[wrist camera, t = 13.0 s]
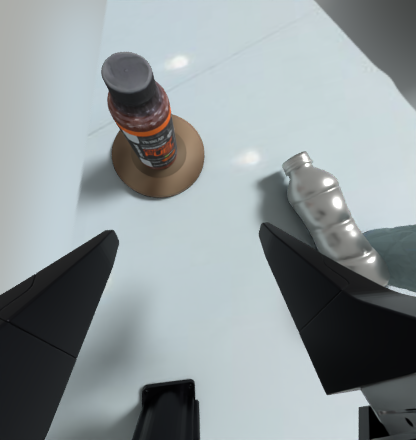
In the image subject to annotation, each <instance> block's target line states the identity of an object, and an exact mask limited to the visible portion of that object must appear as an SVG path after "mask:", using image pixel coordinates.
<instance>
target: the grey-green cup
mask: <svg viewBox="0 0 416 440" xmlns="http://www.w3.org/2000/svg"><path fill="white" fill-rule="evenodd" d="M363 235H364V236H365V238H366V239H367V241H368V242H369V243H370V245H371V247H373V248H374V249H375V250H376V251H377V252H378V253H379V255H380V256H381V257H382V258H383V260H384V261H385V262H386V264H387V267H388V270H389V273H390V279H389V282H388V284H387V285H391V286H394V287H398V288H403V289H407V290H409V291H413V292H416V225H408V226H400V227H395V228H382V229H374V230H370V231H368V232H366V233H364V234H363Z"/></svg>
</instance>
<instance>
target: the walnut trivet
mask: <svg viewBox="0 0 416 440" xmlns="http://www.w3.org/2000/svg"><path fill="white" fill-rule="evenodd" d="M172 120H173V126H174V132H175V138H176V144H177V157H176V159H175V161H174V162H173V164H172V165H170V166H169V167H167V168H165V169H151V168H149V167H147V166H146V165H144V164H143V163H142V162H141V161H140V159H139V158H138V156H137V155H136V153H135V152H134V150H133V149H132V147H131V145H130V144H129V142H128V141H127V139H126V138H125V136H124V135H123V133H122V131H121V130H120V131H119V132H118V134H117V136H116V138H115V140H114V143H113V146H112V161H113V165H114V168H115V170H116V172H117V174H118V175H119V177H120V178H121V179H122V181H123V182H124V183H125V184H127V185H128V186H129V187H130V188H131V189H133V190H134V191H136V192H138V193H140V194H142V195H145V196H149V197H156V198H163V197H170V196H174V195H177V194H179V193H181V192H183V191H185V190H186V189H188V188H189V187H190V186H191V185H193V183H194V182H195V181H196V180H197V178H198V177H199V175H200V173H201V171H202V168H203V163H204V146H203V143H202V140H201V138H200V136H199V134H198V132H197V131H196V130H195V128H194V127H193V126H192V125H191V124H189V123H188V122H187V121H185V120H184V119H182V118H180V117H178V116H175V115H172Z"/></svg>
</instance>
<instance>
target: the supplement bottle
mask: <svg viewBox="0 0 416 440" xmlns="http://www.w3.org/2000/svg"><path fill="white" fill-rule="evenodd" d="M101 73H102V78H103V80H104V82H105V84H106V86H107V88H108V90H109V93H108V98H107V102H108V108H109V111H110V113H111V115H112V117H113V119H114V120H115V122H116V124H117V125H118V127H119V128H120V130H121V131H122V133H123V135H124V136H125V138H126V139H127V141H128V142H129V144H130V145H131V147H132V149H133V150H134V152H135V153H136V155H137V156H138V158H139V159H140V161H141V162H142V163H143V164H144V165H146V166H147V167H149V168H151V169H165V168H167V167H169V166H170V165H172V164H173V162H174V161H175V159H176V157H177V144H176V138H175V132H174V126H173V120H172V114H171V109H170V104H169V100H168V97H167V94H166V92H165V91H164V89H163V88H162V87H161V86H160V85H159V84H158V83H157V82H156V81H155V80H154V76H153V72H152V69H151V66H150V65H149V63H148V62H147V61H146V60H145V59H144V58H143V57H142V56H140V55H137V54H135V53H132V52H119V53H115V54H112V55H111V56H110V57H108V58H107V59H106V60H105V62H104V63H103V66H102V70H101Z"/></svg>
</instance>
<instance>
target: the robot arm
mask: <svg viewBox="0 0 416 440" xmlns="http://www.w3.org/2000/svg"><path fill="white" fill-rule="evenodd" d="M259 238H260V241H261V244H262V247H263V250H264V254H265V257H266V259H267V261H268V264H269V266H270V268H271V270H272V273H273V275H274V277H275V279H276V282H277V284H278V286H279V288H280V291H281V293H282V295H283V298H284V300H285V302H286V304H287V307H288V309H289V311H290V313H291V316H292V318H293V320H294V322H295V325H296V327H297V329H298V331H299V334H300V336H301V339H302V341H303V343H304V345H305V348H306V350H307V352H308V354H309V357H310V359H311V361H312V363H313V366H314V368H315V370H316V373H317V375H318V377H319V379H320V382H321V384H322V386H323V388H324V390H325V392H326V394H327V395H332V394H338V393H344V392H351V391H357V390H361V391H362V393H363V395H364V396H365V398H366V399H367V401H368V403H369V404H370V405H369V406H363V407H359V440H416V297H414V296H409V295H405V294H401V293H398V292H395V291H393V290H390V289H388V288H386V287H384V286H382V285H380V284H378V283H376V282H374V281H372V280H370V279H368V278H366V277H364V276H362V275H360V274H358V273H356V272H354V271H352V270H351V269H349V268H347V267H345V266H343V265H341V264H339V263H338V262H336V261H334V260H332V259H330V258H329V257H327V256H325V255H324V254H322V253H320V252H318V251H317V250H315V249H313V248H312V247H310V246H308V245H306V244H305V243H303V242H301V241H300V240H298V239H296V238H294V237H293V236H291V235H289V234H288V233H286V232H284V231H282V230H281V229H279V228H277V227H276V226H274V225H272V224H270V223H268V222H265V223H262V224H261V227H260V230H259ZM118 246H119V240H118V237H117V235H116V233H115V231H114V230H106V231H104V232H102V233H101V234H99V235H97V236H96V237H94V238H92V239H91V240H89V241H88V242H86V243H84V244H83V245H81V246H80V247H78V248H76V249H75V250H73V251H72V252H70V253H68V254H67V255H65V256H63V257H62V258H60V259H59V260H57V261H55V262H54V263H52V264H51V265H49V266H47V267H46V268H44V269H43V270H41V271H39V272H38V273H37V274H35V275H33V276H31V277H30V278H28V279H26V280H25V281H23V282H21V283H20V284H18V285H16V286H15V287H13V288H12V289H10V290H8V291H6V292H5V293H3V294H1V295H0V440H44V439H45V437H46V435H47V433H48V431H49V428H50V426H51V423H52V421H53V418H54V415H55V413H56V410H57V408H58V405H59V403H60V400H61V398H62V395H63V393H64V390H65V388H66V385H67V383H68V380H69V377H70V375H71V372H72V370H73V367H74V365H75V362H76V360H77V359H76V358H77V357H78V354H79V352H80V349H81V347H82V344H83V342H84V339H85V336H86V334H87V331H88V329H89V326H90V324H91V321H92V319H93V316H94V314H95V311H96V309H97V306H98V303H99V301H100V298H101V296H102V293H103V291H104V288H105V286H106V283H107V281H108V278H109V275H110V273H111V270H112V268H113V264H114V261H115V257H116V253H117V249H118ZM190 384H192V386H190ZM146 390H148V392H146ZM132 440H200V416H199V401H198V400H195V382H194V380H192V379H190V380H182V381H174V382H166V383H159V384H151V385H146V386H145V387H144V389H143V391H142V410H141V413H140V416H139V419H138V422H137V426H136V429H135V432H134V435H133V438H132Z"/></svg>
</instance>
